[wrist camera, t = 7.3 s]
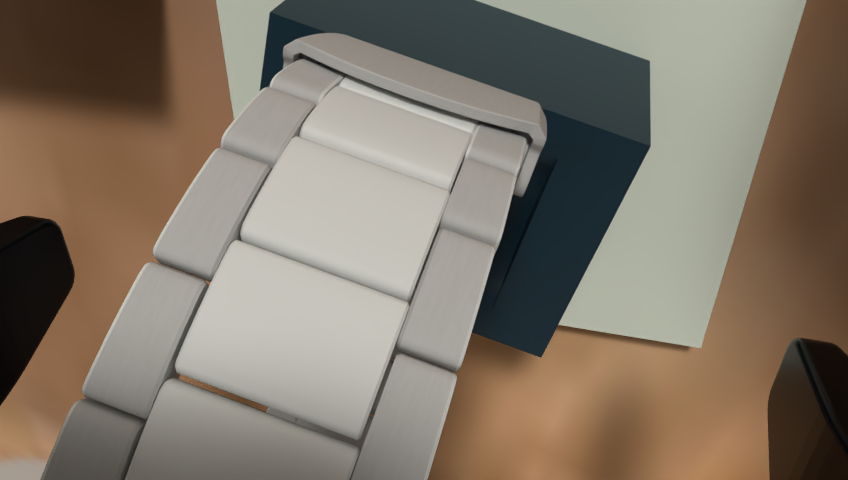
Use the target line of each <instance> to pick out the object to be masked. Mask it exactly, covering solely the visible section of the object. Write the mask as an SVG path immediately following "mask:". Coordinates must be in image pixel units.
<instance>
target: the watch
mask: <svg viewBox="0 0 848 480" xmlns="http://www.w3.org/2000/svg"><path fill="white" fill-rule="evenodd" d="M650 147H651V119H650V61H649V60H646V59H643V58H640V57H637V56H634V55H632V54H629V53H626V52H623V51H620V50H617V49H614V48H611V47H608V46H606V45H603V44H600V43H597V42H594V41H591V40H588V39H585V38H583V37H580V36H577V35H574V34H571V33H568V32H565V31H562V30H559V29H557V28H554V27H551V26H548V25H545V24H542V23H539V22H536V21H533V20H531V19H528V18H525V17H522V16H519V15H516V14H513V13H510V12H508V11H505V10H502V9H499V8H496V7H493V6H490V5H487V4H484V3H482V2H479V1H476V0H285V1H283V2H282V3H281V4H280V5H278V6H277V7H276V8H274V9H273V10H272V11H271V12H270V14H269V22H268V30H267V37H266V45H265V53H264V61H263V68H262V76H261V84H260V92H259V93H258V94H257V95H256V96H255V97H254V98H253V99H252V100H251V101H250V102H249V103H248V104H247V106H246V107H245V108H244V109H243V110H242V111H241V113H240V114H239V115H238V116H237V117H236V119H235V120H234V121H233V122H232V123H231V125H230V126H229V127H228V128H227V130H226V131H225V133H224V135H223V137H222V139H221V148H217V149H216V150H214V152H213V153H212V154H211V155H210V157H209V158H208V160H207V161H206V163H205V164H204V166H203V167H202V169H201V170H200V172H199V173H198V174H197V176H196V177H195V179H194V180H193V182H192V184H191V185H190V187H189V188H188V190H187V191H186V193H185V195H184V196H183V198H182V199H181V201H180V203H179V204H178V206H177V207H176V209H175V211H174V213H173V214H172V216H171V218H170V219H169V221H168V223H167V224H166V226H165V228H164V229H163V231H162V233H161V235H160V236H159V238H158V240H157V242H156V244H155V246H154V249H153V255H154V257H155V258H156V259H157V260H158V261H159V263H161V264H163V265H166V266H169V267H171V268H174V269H177V270H180V271H182V272H185V273H188V274H190V275H193V276H196V277H198V278H196V277H193V276H190V275H188V274H185V273H182V272H180V271H177V270H174V269H171V268H169V267H166V266H163V265H161V264H158V263H155V262H149V263H146V264H145V266H144V267H143V268H142V270H141V271H140V273H139V275H138V276H137V278H136V280H135V282H134V284H133V286H132V287H131V289H130V291H129V293H128V295H127V297H126V299H125V300H124V302H123V304H122V306H121V308H120V310H119V312H118V314H117V316H116V318H115V320H114V322H113V324H112V326H111V328H110V330H109V332H108V334H107V336H106V338H105V339H104V342H103V344H102V346H101V348H100V350H99V352H98V354H97V356H96V358H95V360H94V362H93V365H92V367H91V369H90V371H89V373H88V375H87V377H86V380H85V382H84V385H83V388H82V393H83V394H84V396H85V397H87V398H85V399H81V400H78V401H76V402H75V403H74V404H73V406H72V407H71V409H70V411H69V413H68V415H67V417H66V419H65V421H64V424H63V426H62V428H61V431H60V433H59V435H58V438H57V440H56V442H55V445H54V447H53V450H52V452H51V454H50V457H49V459H48V462H47V464H46V467H45V469H44V472H43V475H42V477H41V480H427V479H428V476H429V473H430V469H431V466H432V463H433V459H434V456H435V453H436V449H437V446H438V443H439V439H440V436H441V432H442V429H443V426H444V422H445V419H446V415H447V412H448V409H449V405H450V402H451V398H452V395H453V391H454V388H455V384H456V381H457V375H456V374H455V373H453V372H456V371H458V370H459V369H460V367H461V365H462V362H463V359H464V356H465V352H466V349H467V346H468V342H469V339H470V336H471V332H473V333H475V334H478V335H481V336H484V337H486V338H489V339H492V340H495V341H497V342H500V343H503V344H505V345H508V346H511V347H514V348H516V349H519V350H522V351H525V352H527V353H530V354H533V355H535V356H538V357H542V355H543V353H544V351H545V349H546V347H547V345H548V343H549V341H550V339H551V338H552V336H553V334H554V332H555V330H556V328H557V326H558V324H559V322H560V320H561V318H562V316H563V314H564V313H565V311H566V309H567V307H568V305H569V303H570V301H571V299H572V297H573V295H574V293H575V291H576V289H577V287H578V286H579V284H580V282H581V280H582V278H583V276H584V274H585V272H586V270H587V268H588V266H589V264H590V262H591V260H592V259H593V257H594V255H595V253H596V251H597V249H598V247H599V245H600V243H601V241H602V239H603V237H604V235H605V233H606V232H607V230H608V228H609V226H610V224H611V222H612V220H613V218H614V216H615V214H616V212H617V210H618V208H619V206H620V205H621V203H622V201H623V199H624V197H625V195H626V193H627V191H628V189H629V187H630V185H631V183H632V181H633V179H634V178H635V176H636V174H637V172H638V170H639V168H640V166H641V164H642V162H643V160H644V158H645V156H646V154H647V152H648V151H649V149H650ZM199 278H201V279H204V280H207V281H209V282H211V283H210V285H208V284H207V283H206V281H204V280H201V279H199ZM409 355H410V356H409ZM391 358H392V359H395V360H394V361H391ZM437 366H440V367H442V368H440V367H437ZM443 368H445V369H448V370H451V371H453V372H451V371H448V370H445V369H443ZM180 374H182V375H184V376H187V377H190V378H192V379H195V380H198V381H200V382H203V383H206V384H208V385H211V386H214V387H216V388H219V389H222V390H224V391H227V392H230V393H232V394H235V395H238V396H240V397H243V398H246V399H248V400H251V401H254V402H256V403H259V404H262V405H264V406H267V407H268V409H267V411H266V412H264V411H261V410H258V409H256V408H253V407H250V406H248V405H245V404H242V403H240V402H237V401H234V400H232V399H229V398H226V397H224V396H221V395H218V394H216V393H213V392H210V391H208V390H205V389H202V388H200V387H197V386H194V385H192V384H189V383H186V382H184V381H181V380H178V378H179V376H180ZM371 414H373V415H374V417H371V416H370V415H371Z"/></svg>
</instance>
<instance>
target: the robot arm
mask: <svg viewBox="0 0 848 480" xmlns="http://www.w3.org/2000/svg"><path fill="white" fill-rule="evenodd" d="M74 277H75V272H74V267H73V264H72V261H71V258H70V255H69V252H68V249H67V246H66V243H65V240H64V237H63V234H62V231H61V228H60V227H59V225H58V224H57V223H56V222H55V221H52V220H50V219H45V218H39V217H33V216H21V217H17V218H15V219H12V220H9V221H6V222H3V223H0V406H1V404H2V403H3V401H4V400H5V399H6V397H7V396H8V394H9V393H10V391H11V390H12V388H13V387H14V386H15V384H16V383H17V381H18V379H19V378H20V376H21V374H22V373H23V371H24V370H25V368H26V366H27V365H28V363H29V361H30V359H31V358H32V356H33V354H34V353H35V351H36V349H37V347H38V346H39V344H40V342H41V340H42V339H43V337H44V335H45V334H46V332H47V330H48V328H49V327H50V325H51V323H52V321H53V320H54V318H55V316H56V315H57V313H58V311H59V309H60V308H61V306H62V304H63V302H64V301H65V299H66V297H67V296H68V294H69V292H70V290H71V288H72V286H73V283H74ZM768 440H769V472H770V480H848V355H847V354H846V353H845V352H844V351H843V350H842V349H841V348H839V347H838V346H837V345H835V344H833V343H830V342H824V341H817V340H811V339H805V338H797V339H795V340H793V341H792V342H791V343H790V344H789V346H788V348H787V350H786V353H785V355H784V358H783V360H782V363H781V365H780V368H779V370H778V373H777V375H776V378H775V380H774V383H773V386H772V388H771V391H770V395H769V400H768Z"/></svg>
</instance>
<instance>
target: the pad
mask: <svg viewBox="0 0 848 480" xmlns="http://www.w3.org/2000/svg"><path fill="white" fill-rule="evenodd" d="M283 1H285V0H216V3H217V9H218V16H219V23H220V29H221V36H222V43H223V49H224V56H225V62H226V69H227V76H228V82H229V89H230V96H231V102H232V109H233V115H234V120H235V119H236V117H237V116H238V115H239V114H240V113H241V111H242V110H243V109H244V108H245V107H246V106H247V104H248V103H249V102H250V101H251V100H252V99H253V98H254V97H255V96H256V95H257V94H258V93H259V92H260V84H261V76H262V68H263V61H264V53H265V45H266V37H267V30H268V22H269V14H270V12H271V11H272V10H273V9H274V8H276V7H277V6H278V5H280V4H281V3H282V2H283ZM476 1H479V2H482V3H484V4H487V5H490V6H493V7H496V8H499V9H502V10H505V11H508V12H510V13H513V14H516V15H519V16H522V17H525V18H528V19H531V20H533V21H536V22H539V23H542V24H545V25H548V26H551V27H554V28H557V29H559V30H562V31H565V32H568V33H571V34H574V35H577V36H580V37H583V38H585V39H588V40H591V41H594V42H597V43H600V44H603V45H606V46H608V47H611V48H614V49H617V50H620V51H623V52H626V53H629V54H632V55H634V56H637V57H640V58H643V59H646V60H649V61H650V119H651V147H650V149H649V151H648V152H647V154H646V156H645V158H644V160H643V162H642V164H641V166H640V168H639V170H638V172H637V174H636V176H635V178H634V179H633V181H632V183H631V185H630V187H629V189H628V191H627V193H626V195H625V197H624V199H623V201H622V203H621V205H620V206H619V208H618V210H617V212H616V214H615V216H614V218H613V220H612V222H611V224H610V226H609V228H608V230H607V232H606V233H605V235H604V237H603V239H602V241H601V243H600V245H599V247H598V249H597V251H596V253H595V255H594V257H593V259H592V260H591V262H590V264H589V266H588V268H587V270H586V272H585V274H584V276H583V278H582V280H581V282H580V284H579V286H578V287H577V289H576V291H575V293H574V295H573V297H572V299H571V301H570V303H569V305H568V307H567V309H566V311H565V313H564V314H563V316H562V318H561V320H560V322H559V324H558V325H563V326H569V327H575V328H581V329H587V330H593V331H599V332H605V333H611V334H618V335H624V336H630V337H636V338H642V339H648V340H654V341H660V342H666V343H672V344H678V345H684V346H690V347H697V348H701V346H702V342H703V339H704V336H705V332H706V329H707V326H708V323H709V319H710V316H711V313H712V309H713V306H714V303H715V300H716V296H717V293H718V290H719V286H720V283H721V280H722V277H723V273H724V270H725V267H726V264H727V260H728V257H729V254H730V250H731V247H732V244H733V241H734V237H735V234H736V231H737V227H738V224H739V221H740V218H741V214H742V211H743V208H744V204H745V201H746V198H747V195H748V191H749V188H750V185H751V181H752V178H753V175H754V172H755V168H756V165H757V162H758V158H759V155H760V152H761V149H762V145H763V142H764V139H765V135H766V132H767V129H768V126H769V122H770V119H771V116H772V112H773V109H774V106H775V103H776V99H777V96H778V93H779V89H780V86H781V83H782V80H783V76H784V73H785V70H786V66H787V63H788V60H789V57H790V53H791V50H792V47H793V43H794V40H795V37H796V34H797V30H798V27H799V24H800V20H801V17H802V14H803V11H804V7H805V4H806V1H807V0H476Z"/></svg>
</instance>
